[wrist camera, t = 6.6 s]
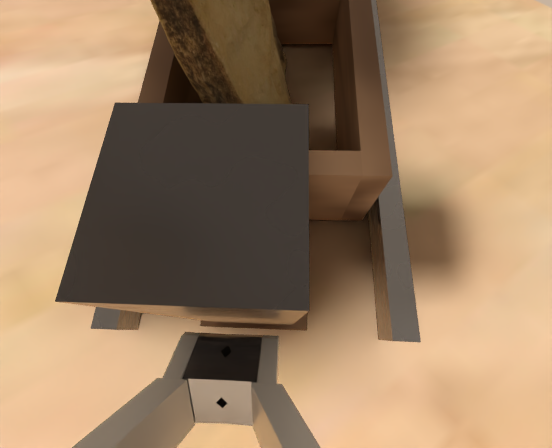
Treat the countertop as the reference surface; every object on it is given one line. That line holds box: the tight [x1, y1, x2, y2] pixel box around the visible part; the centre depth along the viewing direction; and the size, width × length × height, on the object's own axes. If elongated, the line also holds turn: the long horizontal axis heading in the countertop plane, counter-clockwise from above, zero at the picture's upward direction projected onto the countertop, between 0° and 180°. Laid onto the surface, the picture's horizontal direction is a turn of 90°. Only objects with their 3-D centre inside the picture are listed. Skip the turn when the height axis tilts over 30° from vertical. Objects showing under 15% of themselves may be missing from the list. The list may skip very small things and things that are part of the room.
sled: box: [55, 0, 393, 330], centre depth 13 cm, size 11×21×11 cm, turn 178°
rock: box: [151, 0, 292, 104], centre depth 17 cm, size 11×9×10 cm
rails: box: [91, 0, 421, 342], centre depth 19 cm, size 15×30×2 cm, turn 178°
